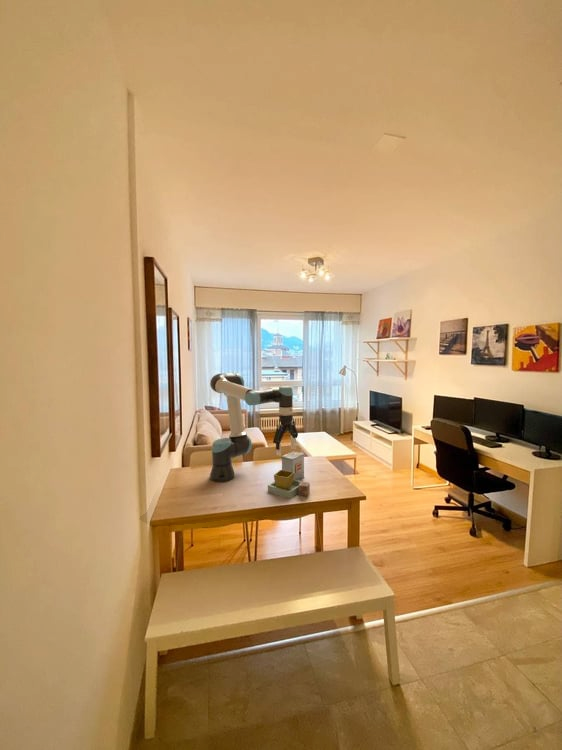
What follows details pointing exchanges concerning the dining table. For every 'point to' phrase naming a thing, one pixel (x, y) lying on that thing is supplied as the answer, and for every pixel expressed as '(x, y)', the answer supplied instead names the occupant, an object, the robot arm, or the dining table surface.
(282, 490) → the tray
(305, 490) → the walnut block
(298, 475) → the box
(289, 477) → the flower pot
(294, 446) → the robot arm
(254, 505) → the dining table surface
